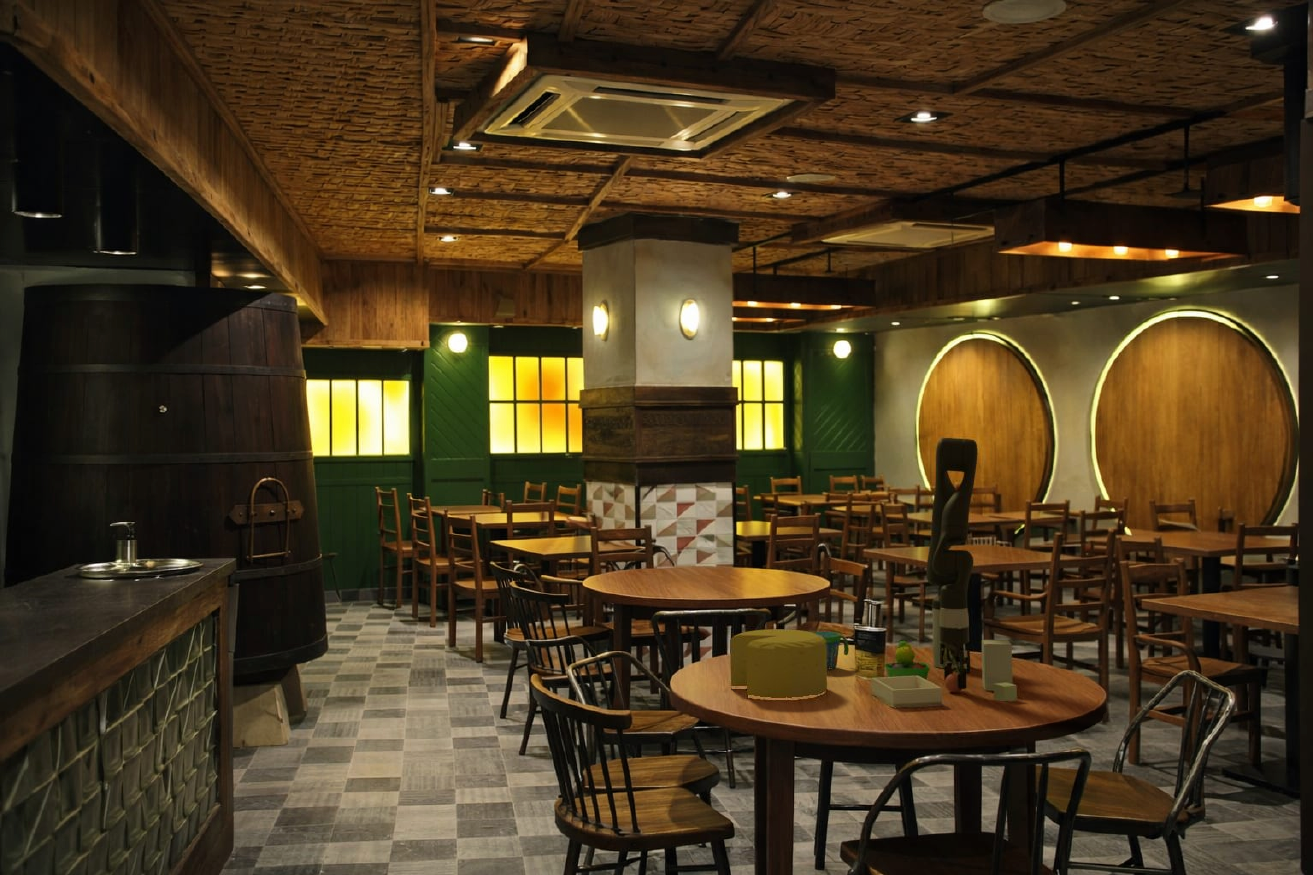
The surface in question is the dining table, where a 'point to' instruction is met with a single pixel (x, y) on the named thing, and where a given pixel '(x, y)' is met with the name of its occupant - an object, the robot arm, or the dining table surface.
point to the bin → (906, 691)
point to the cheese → (779, 663)
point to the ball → (952, 683)
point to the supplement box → (996, 663)
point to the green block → (1005, 692)
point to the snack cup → (833, 646)
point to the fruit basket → (906, 663)
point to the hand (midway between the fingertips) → (955, 685)
